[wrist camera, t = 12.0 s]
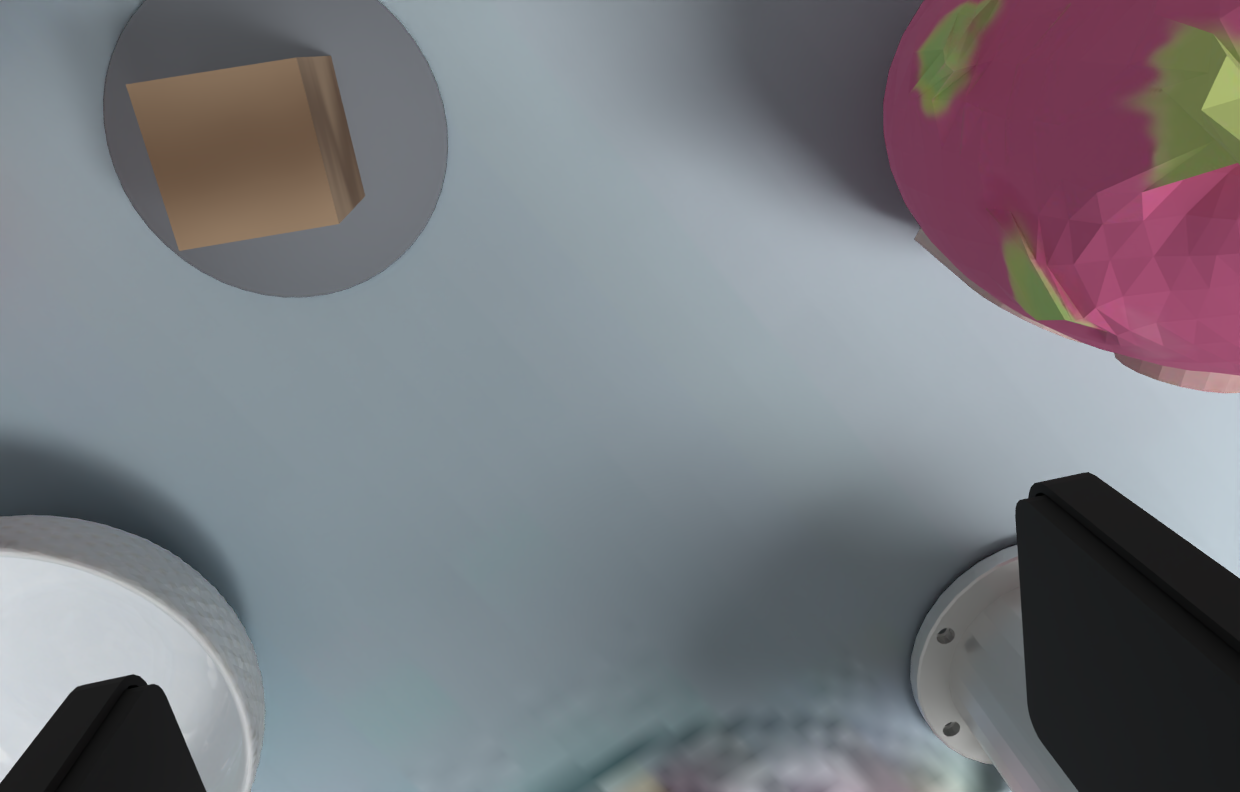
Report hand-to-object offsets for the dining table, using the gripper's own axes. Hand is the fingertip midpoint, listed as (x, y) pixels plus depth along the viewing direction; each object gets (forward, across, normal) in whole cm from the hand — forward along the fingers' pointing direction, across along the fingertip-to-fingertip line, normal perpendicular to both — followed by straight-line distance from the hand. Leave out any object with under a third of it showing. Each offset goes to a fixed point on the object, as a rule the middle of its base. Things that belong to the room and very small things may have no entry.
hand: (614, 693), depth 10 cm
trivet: (+28, +9, -6) cm, 30 cm away
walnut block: (+28, +9, -6) cm, 30 cm away
